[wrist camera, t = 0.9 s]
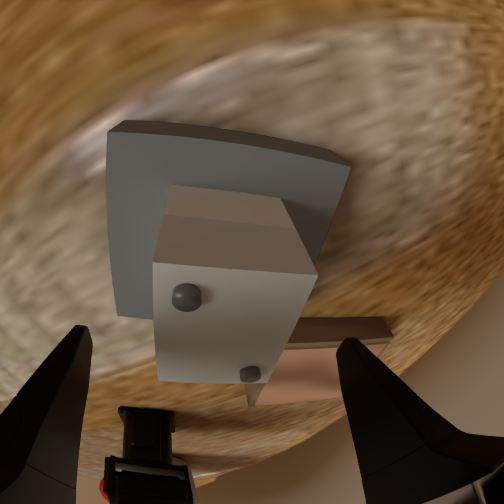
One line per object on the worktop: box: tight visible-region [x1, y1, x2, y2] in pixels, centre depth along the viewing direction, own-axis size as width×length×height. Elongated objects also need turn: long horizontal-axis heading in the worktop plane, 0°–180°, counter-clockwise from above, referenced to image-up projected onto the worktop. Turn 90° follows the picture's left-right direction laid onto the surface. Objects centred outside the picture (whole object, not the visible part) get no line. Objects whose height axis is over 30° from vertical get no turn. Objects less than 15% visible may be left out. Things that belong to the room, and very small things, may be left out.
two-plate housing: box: [153, 185, 318, 384], centre depth 11 cm, size 6×4×5 cm
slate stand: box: [106, 120, 351, 320], centre depth 14 cm, size 10×10×2 cm
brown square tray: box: [245, 317, 394, 406], centre depth 23 cm, size 10×10×2 cm
